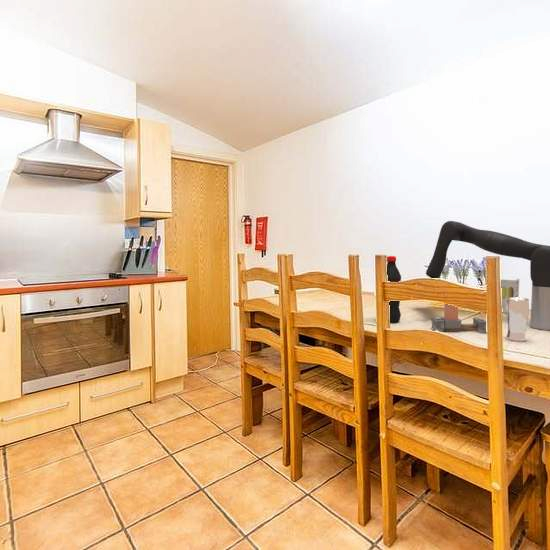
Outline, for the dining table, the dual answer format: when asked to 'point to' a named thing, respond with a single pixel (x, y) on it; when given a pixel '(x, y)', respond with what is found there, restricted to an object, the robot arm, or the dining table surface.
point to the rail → (477, 325)
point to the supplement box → (509, 290)
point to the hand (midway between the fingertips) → (444, 296)
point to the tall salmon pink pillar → (451, 317)
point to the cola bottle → (393, 277)
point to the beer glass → (517, 318)
